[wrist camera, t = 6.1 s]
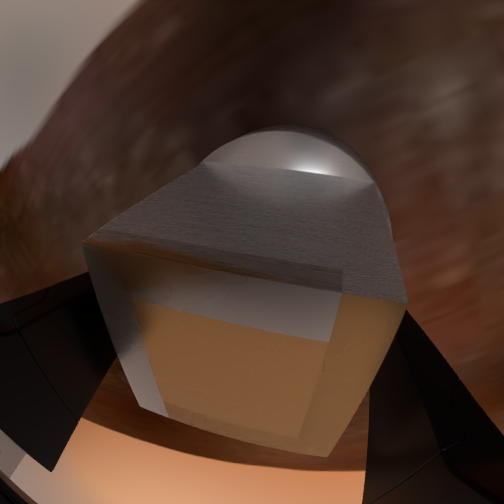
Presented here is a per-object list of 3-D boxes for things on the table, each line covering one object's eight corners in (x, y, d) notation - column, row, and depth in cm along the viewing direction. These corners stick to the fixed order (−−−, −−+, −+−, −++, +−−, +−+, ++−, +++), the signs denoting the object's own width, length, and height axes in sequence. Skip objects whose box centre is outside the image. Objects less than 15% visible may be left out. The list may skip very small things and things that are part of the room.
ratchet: (201, 118, 12) (106, 147, 7) (400, 141, 10) (450, 188, 5) (215, 397, 22) (186, 461, 17) (317, 420, 20) (302, 491, 15)
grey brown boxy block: (374, 182, 9) (408, 303, 4) (343, 318, 12) (327, 457, 7) (205, 161, 10) (81, 242, 5) (210, 293, 13) (140, 406, 8)
